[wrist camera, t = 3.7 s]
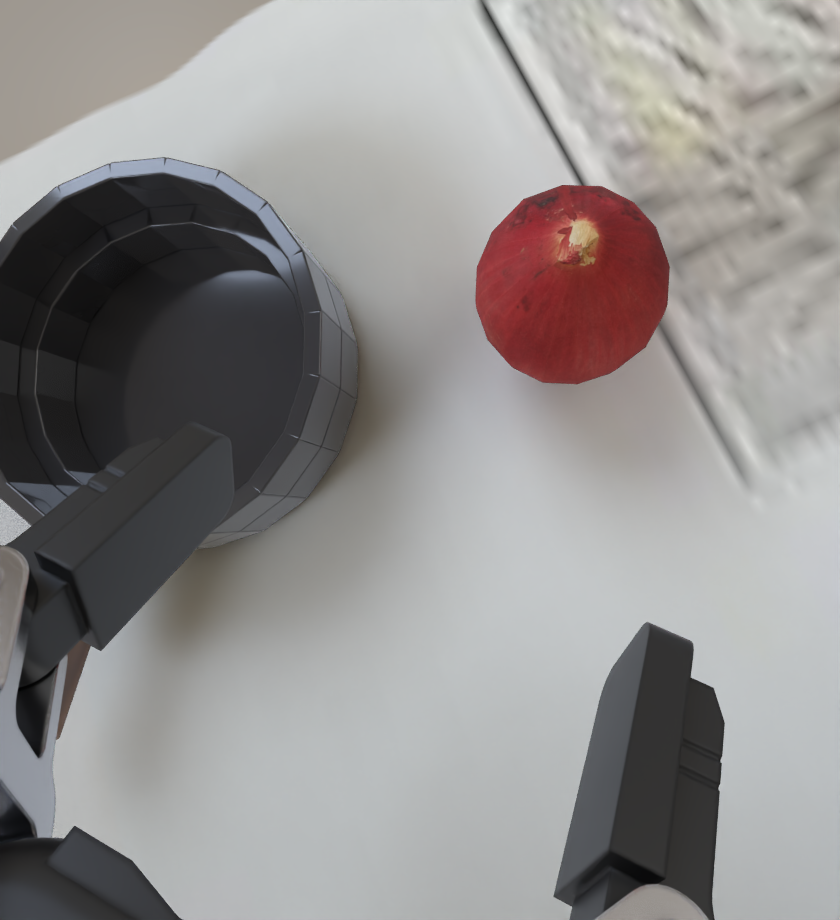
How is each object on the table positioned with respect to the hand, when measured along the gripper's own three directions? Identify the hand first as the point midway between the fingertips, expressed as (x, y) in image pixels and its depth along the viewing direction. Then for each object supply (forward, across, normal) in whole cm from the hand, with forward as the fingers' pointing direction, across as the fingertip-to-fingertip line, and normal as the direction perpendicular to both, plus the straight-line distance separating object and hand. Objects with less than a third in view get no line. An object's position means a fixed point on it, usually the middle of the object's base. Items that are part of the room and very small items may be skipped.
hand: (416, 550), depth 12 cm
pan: (+10, +12, +8) cm, 17 cm away
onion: (+15, 0, +3) cm, 15 cm away
